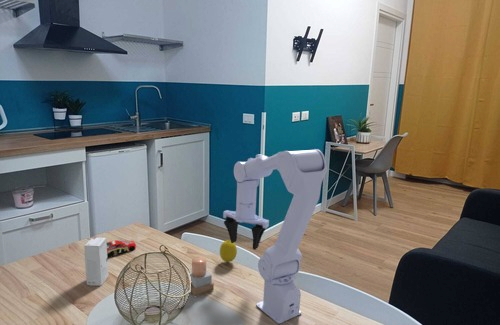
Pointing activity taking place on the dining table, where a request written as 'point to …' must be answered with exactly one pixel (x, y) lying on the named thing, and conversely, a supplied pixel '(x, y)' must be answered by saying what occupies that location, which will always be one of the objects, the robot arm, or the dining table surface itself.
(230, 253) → the lemon
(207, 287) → the walnut slab
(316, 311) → the dining table surface
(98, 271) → the skincare box
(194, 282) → the grey slab
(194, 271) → the copper rounded cylinder
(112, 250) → the race car
